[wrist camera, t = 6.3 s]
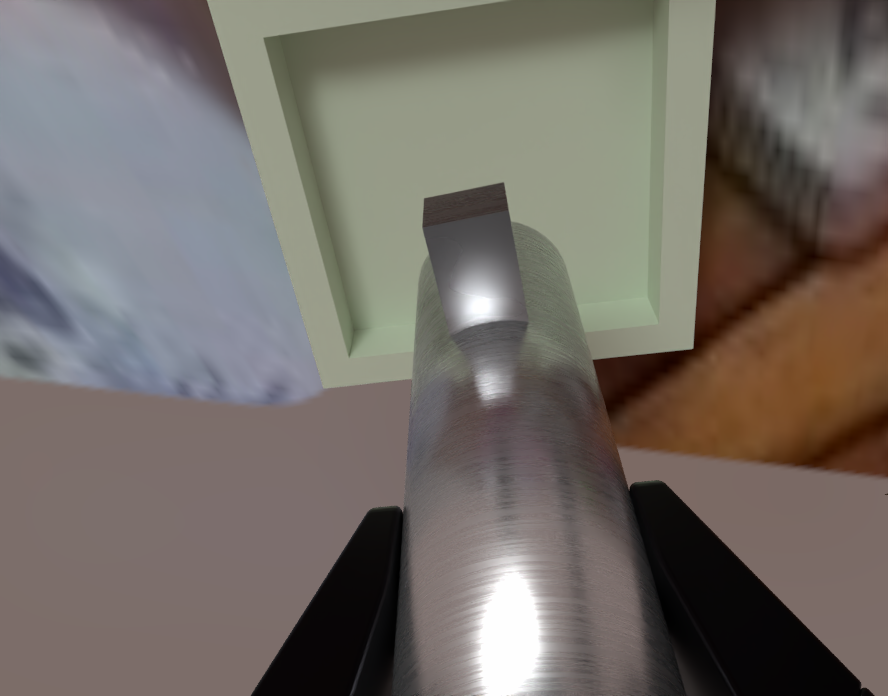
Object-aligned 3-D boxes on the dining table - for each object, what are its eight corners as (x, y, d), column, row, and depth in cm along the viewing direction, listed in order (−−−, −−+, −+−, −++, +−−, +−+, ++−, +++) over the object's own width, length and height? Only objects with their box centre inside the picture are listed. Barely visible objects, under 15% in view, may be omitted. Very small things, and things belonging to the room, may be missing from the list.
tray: (689, -96, 17) (721, -86, 15) (672, 303, 23) (693, 348, 21) (233, -23, 18) (206, -4, 16) (334, 341, 24) (323, 388, 22)
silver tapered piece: (585, 399, 16) (727, 972, 8) (452, 421, 17) (458, 991, 8) (545, 115, 13) (729, 626, 4) (378, 151, 13) (262, 682, 5)
